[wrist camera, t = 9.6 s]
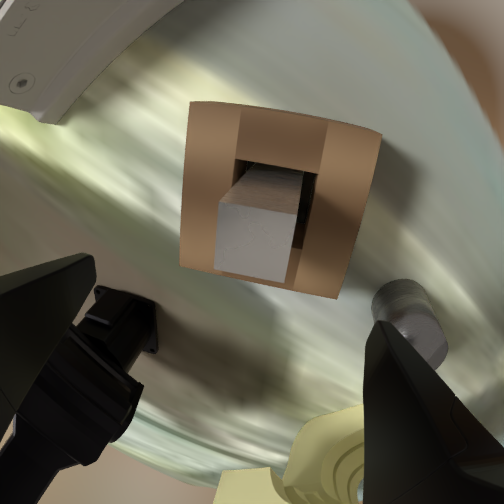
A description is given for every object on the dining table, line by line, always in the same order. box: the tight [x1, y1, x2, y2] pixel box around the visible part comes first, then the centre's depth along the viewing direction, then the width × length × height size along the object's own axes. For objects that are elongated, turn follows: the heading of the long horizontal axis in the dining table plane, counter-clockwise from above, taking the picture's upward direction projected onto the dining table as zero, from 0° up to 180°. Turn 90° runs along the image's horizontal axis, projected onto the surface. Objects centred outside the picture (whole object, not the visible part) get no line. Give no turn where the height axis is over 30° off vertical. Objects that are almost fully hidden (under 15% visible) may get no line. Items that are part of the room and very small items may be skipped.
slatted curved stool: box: [213, 404, 364, 504], centre depth 23 cm, size 30×16×18 cm, turn 33°
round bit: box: [371, 279, 448, 370], centre depth 20 cm, size 5×5×6 cm
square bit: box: [214, 162, 304, 283], centre depth 16 cm, size 3×3×9 cm
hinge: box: [0, 0, 185, 125], centre depth 13 cm, size 17×5×10 cm, turn 123°
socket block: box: [179, 101, 382, 299], centre depth 19 cm, size 10×10×4 cm
